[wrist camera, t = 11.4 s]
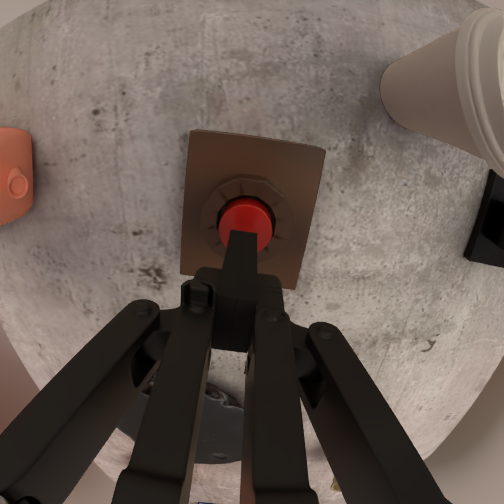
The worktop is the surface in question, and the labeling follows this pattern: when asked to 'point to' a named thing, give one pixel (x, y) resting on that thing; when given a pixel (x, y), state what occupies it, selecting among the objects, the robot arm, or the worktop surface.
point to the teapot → (15, 174)
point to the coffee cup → (455, 88)
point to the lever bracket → (489, 225)
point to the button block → (249, 186)
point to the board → (201, 425)
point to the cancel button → (246, 221)
